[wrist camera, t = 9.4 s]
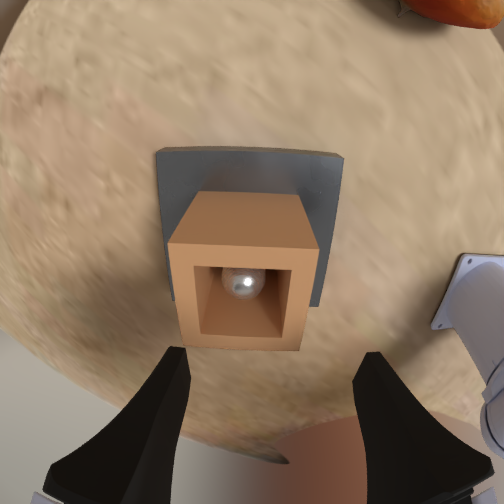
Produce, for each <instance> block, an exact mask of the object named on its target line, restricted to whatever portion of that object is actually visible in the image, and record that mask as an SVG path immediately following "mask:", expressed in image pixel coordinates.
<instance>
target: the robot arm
mask: <svg viewBox="0 0 504 504" xmlns="http://www.w3.org/2000/svg"><path fill="white" fill-rule="evenodd" d="M468 260H469V261H468ZM431 328H432V330H438V329H446V328H454V329H455V330H456V332H457V334H458V335H459V337H460V339H461V340H462V342H463V344H464V345H465V347H466V349H467V350H468V352H469V354H470V356H471V357H472V359H473V361H474V363H475V365H476V367H477V368H478V370H479V372H480V374H481V376H482V378H483V380H484V382H485V384H486V386H487V387H486V388H485V390H484V391H483V392H482V393H481V394H482V396H483V398H484V400H485V403H484V404H483V406H482V408H481V413H480V426H481V432H482V435H483V438H484V441H485V443H486V444H487V446H488V447H489V448H490V450H492V451H493V452H494V453H496V454H497V455H498V456H500V457H502V458H503V459H504V256H495V255H479V254H464V255H462V256H461V258H460V260H459V263H458V265H457V268H456V271H455V273H454V276H453V278H452V280H451V283H450V285H449V287H448V290H447V292H446V294H445V296H444V299H443V301H442V303H441V305H440V307H439V309H438V311H437V313H436V315H435V317H434V319H433V321H432V323H431ZM190 382H191V375H190V370H189V365H188V359H187V354H186V349H185V348H182V347H173V346H170V347H169V348H168V349H167V351H166V352H165V354H164V355H163V357H162V359H161V360H160V362H159V363H158V365H157V366H156V368H155V369H154V370H153V372H152V373H151V375H150V376H149V377H148V379H147V380H146V381H145V383H144V384H143V385H142V387H141V388H140V389H139V391H138V392H137V393H136V394H135V396H134V397H133V398H132V399H131V400H130V401H129V403H128V404H127V405H126V406H125V407H124V408H123V409H122V411H121V412H120V413H119V414H118V415H117V416H116V417H115V418H114V419H113V420H112V421H111V422H110V423H109V424H108V425H107V426H105V427H104V428H103V429H102V430H101V431H100V432H99V433H98V434H96V435H95V436H94V437H93V438H91V439H90V440H89V441H87V442H86V443H85V444H83V445H82V446H81V447H79V448H78V449H76V450H75V451H73V452H72V453H70V454H69V455H67V456H65V457H64V458H62V459H60V460H59V461H57V462H55V463H53V464H52V465H51V466H50V469H49V471H48V473H47V476H46V479H45V482H44V486H43V492H45V493H46V494H48V495H50V496H52V497H54V498H55V499H57V500H59V501H61V502H63V503H64V504H170V500H171V499H170V498H171V484H172V474H173V465H174V457H175V451H176V446H177V441H178V437H179V433H180V430H181V426H182V422H183V418H184V414H185V410H186V406H187V402H188V397H189V390H190ZM352 383H353V393H354V401H355V406H356V410H357V415H358V419H359V423H360V428H361V432H362V436H363V440H364V446H365V452H366V463H367V490H368V491H367V504H498V503H497V499H496V495H495V491H494V487H490V488H489V489H487V490H485V491H483V492H481V493H480V494H478V495H476V496H474V497H472V498H471V496H470V495H471V494H473V492H474V490H473V487H474V486H475V485H477V484H479V483H481V482H482V481H484V480H486V479H488V478H489V477H491V476H492V475H493V474H494V473H495V472H494V469H493V466H492V462H491V459H490V457H488V456H486V455H484V454H482V453H480V452H478V451H477V450H475V449H473V448H472V447H470V446H469V445H467V444H465V443H464V442H462V441H461V440H460V439H458V438H457V437H456V436H454V435H453V434H452V433H451V432H449V431H448V430H447V429H446V428H444V427H443V426H442V425H441V424H440V423H439V422H438V421H437V420H436V419H435V418H434V417H433V416H432V415H431V414H430V413H429V412H428V411H427V410H426V409H425V408H424V407H423V406H422V405H421V403H420V402H419V401H418V400H417V399H416V398H415V397H414V395H413V394H412V393H411V392H410V390H409V389H408V388H407V387H406V385H405V384H404V383H403V382H402V380H401V379H400V378H399V376H398V375H397V374H396V372H395V371H394V370H393V369H392V367H391V366H390V365H389V363H388V362H387V361H386V359H385V358H384V357H383V355H382V354H381V353H380V352H367V353H366V355H365V357H364V359H363V361H362V363H361V365H360V367H359V369H358V371H357V373H356V375H355V377H354V379H353V381H352ZM31 504H60V503H58V502H55V501H53V500H51V499H49V498H47V497H45V496H43V495H41V494H39V493H38V492H34V494H33V497H32V500H31Z"/></svg>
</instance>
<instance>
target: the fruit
mask: <svg viewBox="0 0 504 504" xmlns="http://www.w3.org/2000/svg"><path fill="white" fill-rule="evenodd" d="M399 2H400V6H401V12H400V13H399V14H398V15H397V16H398V18H399V17H400V16H401V15H403V14H404V13H405V12H406V11H408V10H412V11H414V12H416V13H417V14H419V15H420V16H422V17H426V18H431V19H433V20H435V21H438V22H441V23H445V24H449V25H454V26H460V27H468V28H476V29H489V28H494V27H495V26H497V25H498V24H499V23H500V21H501V20H502V18H503V16H504V0H399Z"/></svg>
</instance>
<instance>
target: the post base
mask: <svg viewBox="0 0 504 504" xmlns="http://www.w3.org/2000/svg"><path fill="white" fill-rule="evenodd" d="M156 160H157V176H158V189H159V201H160V211H161V221H162V230H163V239H164V247H165V255H166V262H167V269H168V276H169V283H170V289H171V295H172V301H175V295H174V289H173V282H172V275H171V267H170V260H169V252H168V241H169V240H170V238H171V236H172V234H173V233H174V231H175V229H176V228H177V226H178V224H179V222H180V221H181V219H182V217H183V216H184V214H185V212H186V211H187V209H188V208H189V206H190V204H191V203H192V201H193V199H194V198H195V196H196V195H197V193H198V191H217V192H250V193H272V194H290V195H299V198H300V200H301V203H302V205H303V208H304V210H305V213H306V215H307V218H308V220H309V223H310V225H311V228H312V231H313V233H314V236H315V239H316V241H317V244H318V247H319V255H318V261H317V266H316V272H315V277H314V283H313V288H312V293H311V298H310V303H309V307H318V306H319V302H320V297H321V293H322V288H323V284H324V279H325V274H326V269H327V264H328V259H329V253H330V248H331V242H332V237H333V231H334V225H335V219H336V213H337V207H338V200H339V193H340V186H341V179H342V171H343V163H344V158H343V157H341V156H340V155H338V154H337V153H329V152H319V151H308V150H296V149H282V148H263V147H231V146H197V147H165V148H163V149H161V150H159V151H157V152H156ZM265 279H266V276H265V269H257V268H233V267H223V271H222V284H223V287H224V289H225V291H226V292H227V293H228V294H229V295H230V296H232V297H233V298H236V299H239V300H248V299H252V298H254V297H255V296H257V295H258V294H259V293H260V292H261V291H262V289H263V287H264V285H265Z"/></svg>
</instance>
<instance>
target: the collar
mask: <svg viewBox="0 0 504 504" xmlns="http://www.w3.org/2000/svg"><path fill="white" fill-rule="evenodd" d="M168 252H169V260H170V267H171V275H172V282H173V289H174V295H175V302H176V308H177V314H178V320H179V325H180V331H181V336H182V342H183V345H184V346H194V347H206V348H220V349H237V350H262V351H299V349H300V345H301V341H302V336H303V332H304V327H305V322H306V318H307V313H308V308H309V303H310V298H311V293H312V288H313V283H314V277H315V272H316V266H317V261H318V255H319V247H318V244H317V241H316V239H315V236H314V233H313V231H312V228H311V225H310V223H309V220H308V218H307V215H306V213H305V210H304V208H303V205H302V203H301V200H300V198H299V195H290V194H272V193H250V192H217V191H198V193H197V195H196V196H195V198H194V199H193V201H192V203H191V204H190V206H189V208H188V209H187V211H186V212H185V214H184V216H183V217H182V219H181V221H180V222H179V224H178V226H177V228H176V229H175V231H174V233H173V234H172V236H171V238H170V240H169V241H168ZM223 267H233V268H257V269H265V276H266V279H265V285H264V287H263V289H262V291H261V292H260V293H259V294H258V295H257V296H255V297H254V298H252V299H248V300H239V299H236V298H233V297H232V296H230V295H229V294H228V293H227V292H226V291H225V289H224V287H223V284H222V271H223Z"/></svg>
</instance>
